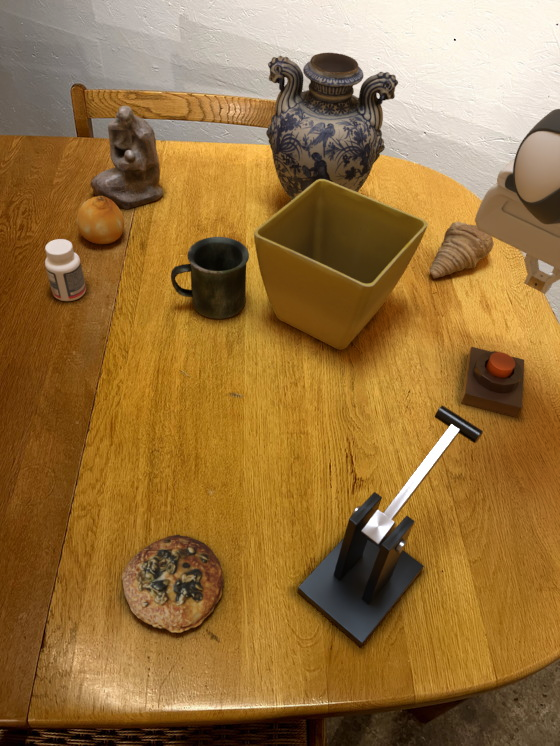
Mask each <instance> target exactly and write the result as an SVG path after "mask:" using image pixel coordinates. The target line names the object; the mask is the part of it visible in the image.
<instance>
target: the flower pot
mask: <svg viewBox="0 0 560 746" xmlns="http://www.w3.org/2000/svg"><path fill="white" fill-rule="evenodd" d="M428 225H429V224H428V222H427V220H425V219H423V218H421V217H418V216H416V215H413V214H411V213H409V212H407V211H404V210H401V209H399V208H396V207H394V206H391V205H389V204H387V203H384V202H381V201H380V200H377V199H375V198H372V197H369V196H367V195H365V194H363V193H360V192H359V191H358V192H355V191H353V190H350V189H348V188H346V187H343V186H341V185H338V184H336V183H333V182H331V181H329V180H325V179H318V180H316V181H315V182H314V183H312V184H311V185H310V186H309V187H308V188H306V189H305V190H304V191H303V192H302V193H300V194H299V195H298V196H297V197H295V198H294V199H293V200H292V201H291V200H290V201H289V202H288V203H286V204H285V205H283V207H282V208H280V209H279V210H278V211H277V212H275V213H274V214H273V215H271V216H270V217H269V218H268V219H267V220H265V221H264V222H263V223H262V224H260V225H259V226H258V227H256V228H255V230H254V231H253V238H254V247H255V253H256V258H257V263H258V269H259V272H260V276H261V280H262V283H263V286H264V290H265V293H266V295H267V298H268V301H269V304H270V305H271V308H272V311H273V313H274V315H275V316H276V319H278V320H279V321H281V322H283V323H285V324H287V325H289V326H291V327H293V328H295V329H297V330H299V331H301V332H303V333H304V334H307V335H309V336H310V337H313V338H315V339H316V340H318V341H320V342H323V343H324V344H326V345H329V346H331V347H332V348H334V349H336V350H340V351H342V350H345V349H347V348H348V347H349V346H350V344H351V343H352V342H353V341H354V339H355V338H356V337H357V336H358V335H359V334H360V333H361V332H362V330H363V329H364V328H365V327H366V326H367V325H368V323H369V322H370V321H371V320H372V319H373V318H374V316H376V314H377V313H378V312H379V311H380V309H382V307H383V305H384V304H385V303H386V301H387V300H388V299H389V297H390V295H391V293H393V291H394V289H395V288H396V286H397V285H398V283H399V282H400V280H401V278H403V275H404V274H405V271H406V270H407V269H408V267H409V265H410V263H411V261H412V260H413V257H414V256H415V254H416V251H417V250H418V249H419V245H420V243H421V241H422V239H423V238H424V236H425V233H426V231H427V229H428Z"/></svg>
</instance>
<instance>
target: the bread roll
mask: <svg viewBox="0 0 560 746" xmlns="http://www.w3.org/2000/svg"><path fill="white" fill-rule="evenodd" d="M121 580H122V586H123V593H124V594H123V595H124V597H125V600H126V602H127V604H128V606H129V608H130V611H131V612H132V613H133V614H134V616H136V617H137V619H139V620H141V621H142V622H144V623H145V624H148V625H151V626H152V627H153V628H158V629H164V630H167V631H169V632H170V633H177V634H179V633H183V632H185V631H189V630H190V629H193V628H196V627H198V626H201V624H202V623H203V622H204V620H205V619H207V617H208V616H209V615H210V614H211V613H212V612H213V611H214V609H215V607H216V605H217V604H218V603H219V600H220V599H221V598H222V595H223V587H224V583H225V579H224V572H223V569H222V566H221V562H220V560H219V558H218V557H217V555H216V554H215V553H214V551H213V550H212V549H211V548H210V547H209V545H207V544H206V543H204V542H203V541H201V540H198V539H195V538H192V537H190V536H187V535H180V534H175V535H169V536H166V537H164V538H161V539H159V540H156V541H154V542H152V543H150V544H149V545H147V546H145V548H142V550H141V551H139V552H137V553H136V554H135V555H134V556H133V557H132V558H131V559H130V560H129V561H128V563H127V565H126V567H125V568H124V570H123V571H122V574H121Z"/></svg>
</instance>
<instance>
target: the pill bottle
mask: <svg viewBox="0 0 560 746" xmlns="http://www.w3.org/2000/svg"><path fill="white" fill-rule="evenodd" d="M44 251H45V255H46V258H45V261H44V266H45V270H46V275H47V278H48V281H49V286H50V290H51V293H52V296H53V297H54V298H56V299H57V300H59V301H62V302H73V301H76V300H79V299H80V298H83V297H84V295H85V293H86V291H87V286H86V281H85V277H84V272H83V267H82V262H81V259H80V256H79V254H78V253H77V252H75V249H74V246H73V243H72V242H71V241H70V240H68V239H65V238H57V239H54V240H50V241H49V242H47V244H46V245H45V247H44Z"/></svg>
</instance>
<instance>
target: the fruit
mask: <svg viewBox="0 0 560 746" xmlns="http://www.w3.org/2000/svg"><path fill="white" fill-rule="evenodd" d="M76 227H77V230H78V232H79V233H80V235H81V237H82V238H83V239H85V240H86V241H88V242H90V243H92V244H96V245H108V244H112V243H114V242H116V241H118V240H119V239H120V238H121V236H122V235H123V232H124V230H125V217H124V214H123V212H122V211H121V208H120V207H118V206H117V205H116V204H115V203H114V202H113V201H112V200H110V199H109V198H107V197H104V196H97V197H96V196H93V197H91V198H88V199H87V200H85V201H84V202H83V203H82V204H81V205H80V207H79V209H78V211H77V214H76Z"/></svg>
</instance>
